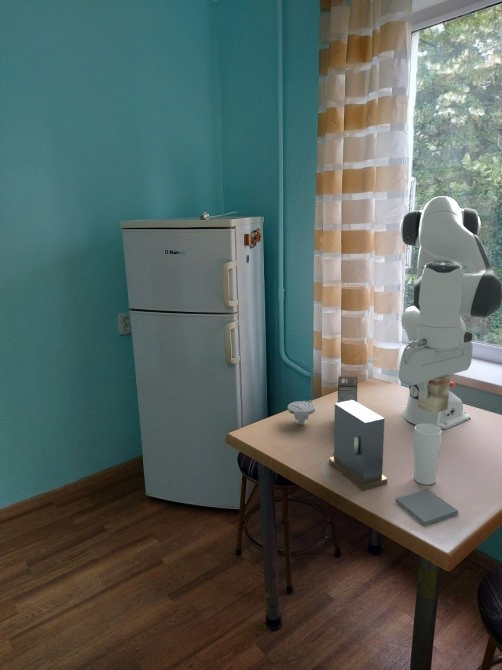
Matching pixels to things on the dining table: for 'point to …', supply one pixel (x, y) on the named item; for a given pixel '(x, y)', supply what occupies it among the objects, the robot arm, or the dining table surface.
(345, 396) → the coffee box
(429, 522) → the mat
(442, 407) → the block
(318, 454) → the dining table surface
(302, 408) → the showerhead
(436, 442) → the drinking glass
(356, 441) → the cabinet
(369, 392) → the dining table surface
